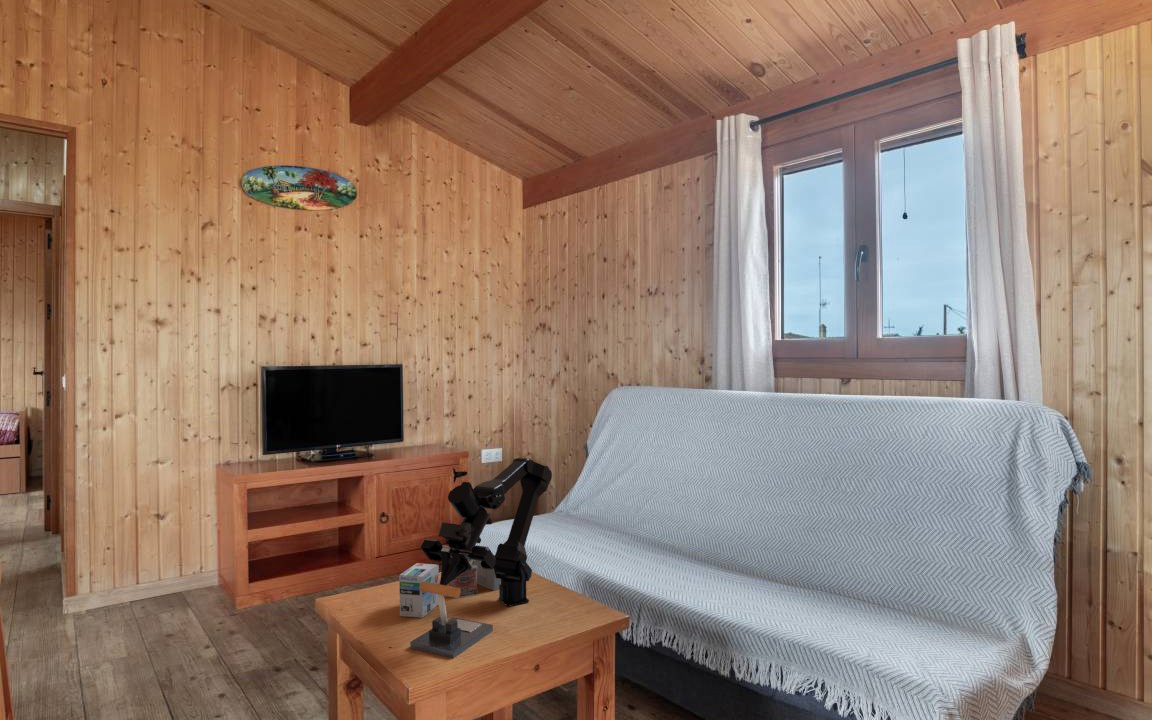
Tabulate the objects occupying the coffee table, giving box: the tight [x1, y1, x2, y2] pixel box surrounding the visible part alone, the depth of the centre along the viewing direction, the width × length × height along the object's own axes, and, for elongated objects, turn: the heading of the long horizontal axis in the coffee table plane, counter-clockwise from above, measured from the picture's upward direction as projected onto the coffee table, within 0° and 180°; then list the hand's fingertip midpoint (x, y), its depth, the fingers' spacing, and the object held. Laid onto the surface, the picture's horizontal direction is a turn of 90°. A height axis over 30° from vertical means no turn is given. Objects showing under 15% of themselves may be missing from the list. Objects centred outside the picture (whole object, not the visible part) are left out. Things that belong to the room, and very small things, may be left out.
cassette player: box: [471, 554, 501, 592], centre depth 196 cm, size 16×3×10 cm, turn 43°
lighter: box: [449, 560, 479, 598], centre depth 187 cm, size 8×3×10 cm, turn 114°
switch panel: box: [409, 616, 494, 659], centre depth 157 cm, size 16×12×6 cm
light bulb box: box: [398, 562, 440, 619], centre depth 175 cm, size 11×7×11 cm, turn 168°
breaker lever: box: [419, 582, 461, 626], centre depth 153 cm, size 2×10×10 cm, turn 65°
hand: (441, 585), depth 153 cm, fingers closed, pressing on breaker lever
